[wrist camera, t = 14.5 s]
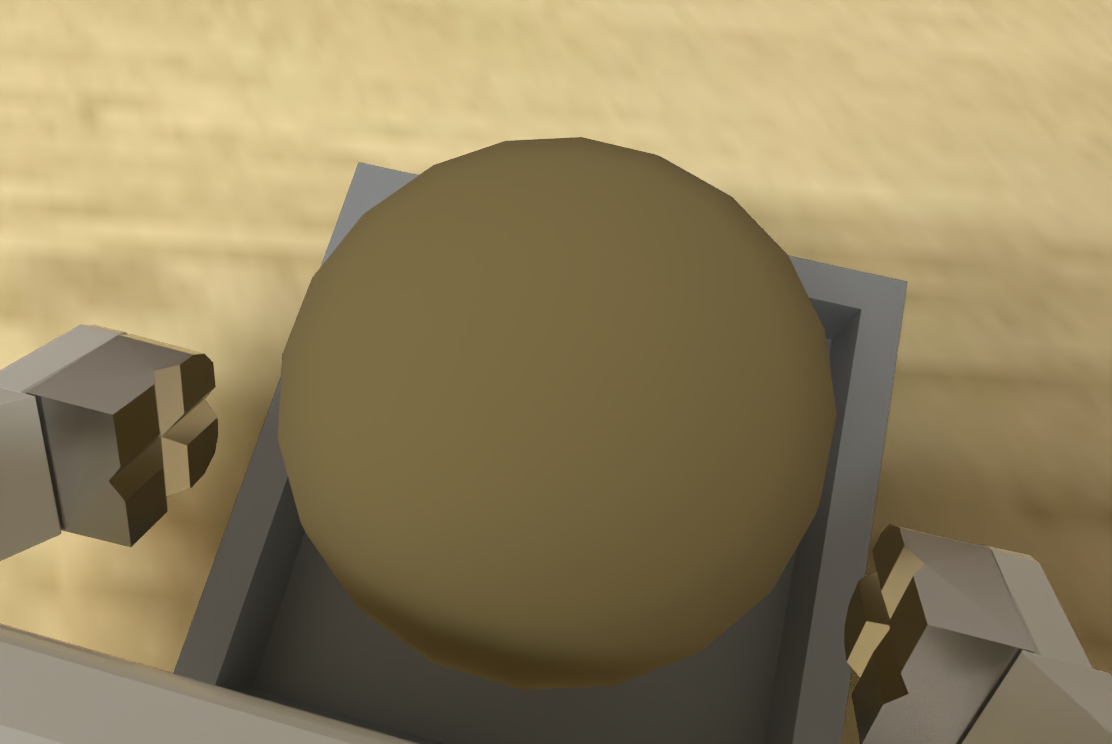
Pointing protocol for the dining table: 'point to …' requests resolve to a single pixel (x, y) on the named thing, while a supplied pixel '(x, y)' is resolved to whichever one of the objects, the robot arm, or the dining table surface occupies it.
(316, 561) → the shaker tray
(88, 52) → the dining table surface
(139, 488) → the robot arm
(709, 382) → the pepper shaker
